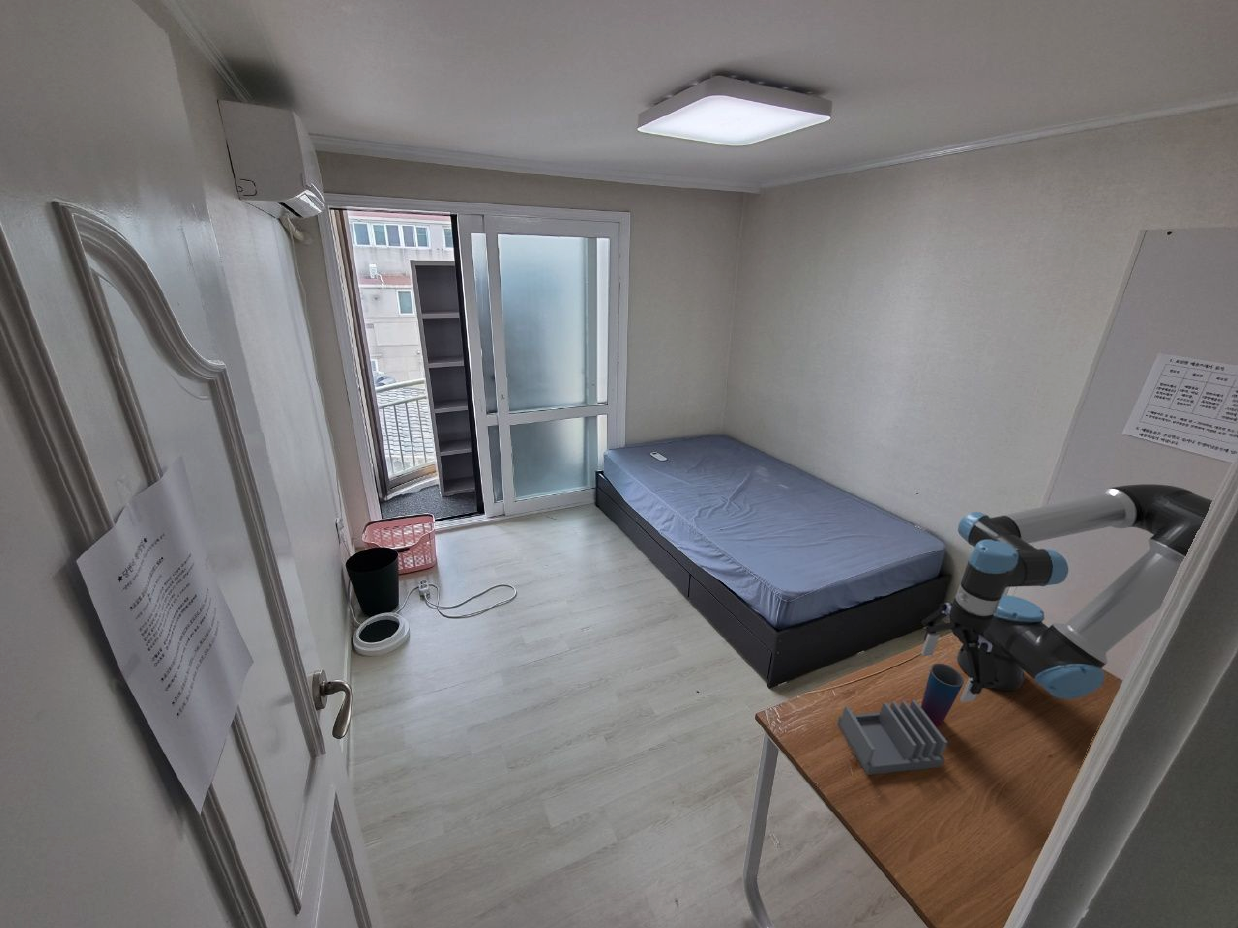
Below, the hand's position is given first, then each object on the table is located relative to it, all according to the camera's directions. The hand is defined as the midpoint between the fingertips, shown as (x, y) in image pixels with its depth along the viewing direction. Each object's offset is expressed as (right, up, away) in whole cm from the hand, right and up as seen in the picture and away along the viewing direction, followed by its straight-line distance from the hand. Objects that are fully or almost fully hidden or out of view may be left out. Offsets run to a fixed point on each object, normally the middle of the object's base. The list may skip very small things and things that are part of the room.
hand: (945, 676), depth 118 cm
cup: (0, -13, +6) cm, 15 cm away
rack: (-14, -16, 0) cm, 21 cm away
